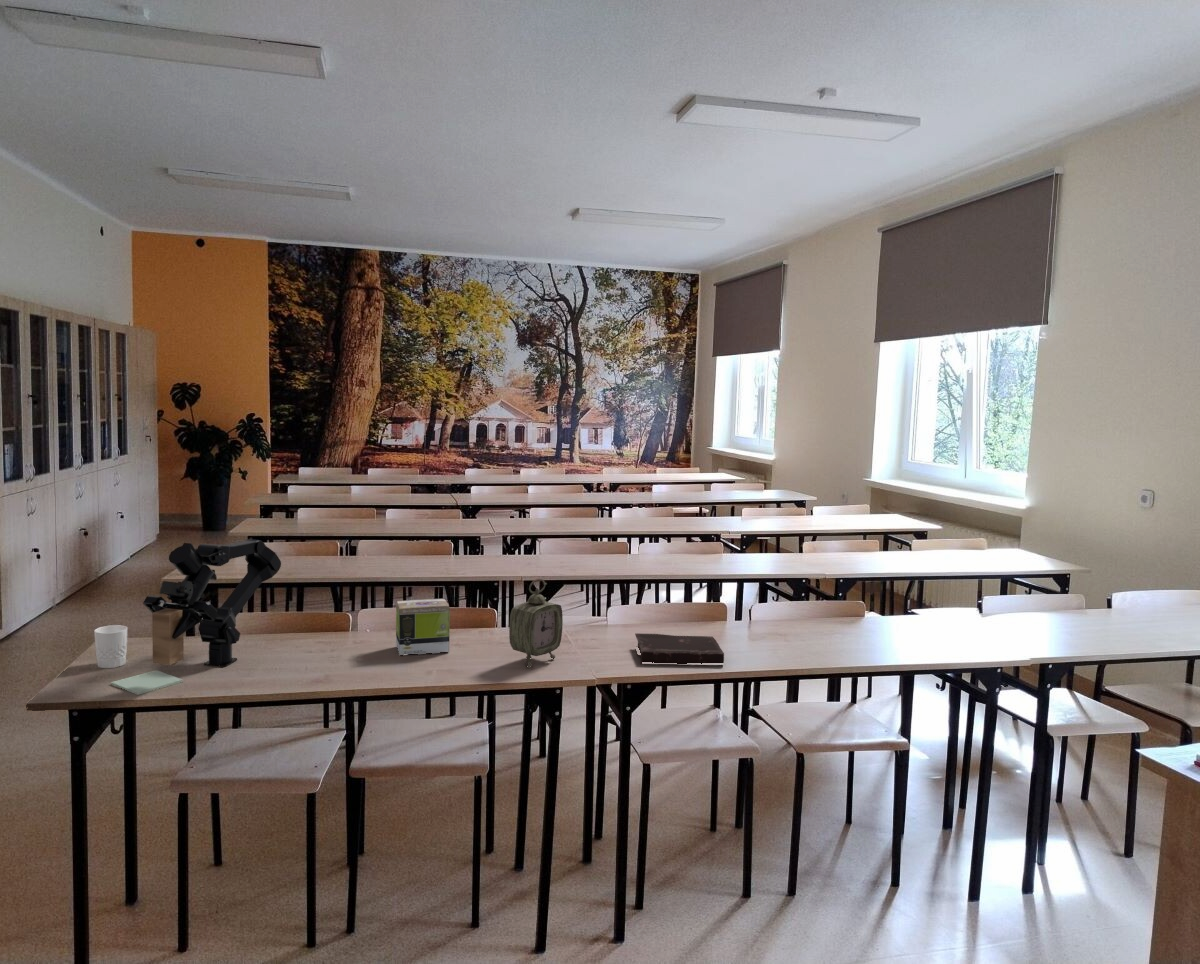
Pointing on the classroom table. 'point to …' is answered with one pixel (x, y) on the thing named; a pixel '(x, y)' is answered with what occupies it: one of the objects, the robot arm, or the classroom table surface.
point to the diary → (679, 649)
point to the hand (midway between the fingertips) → (164, 636)
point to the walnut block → (167, 637)
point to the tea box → (422, 626)
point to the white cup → (111, 646)
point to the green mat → (146, 682)
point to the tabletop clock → (536, 626)
